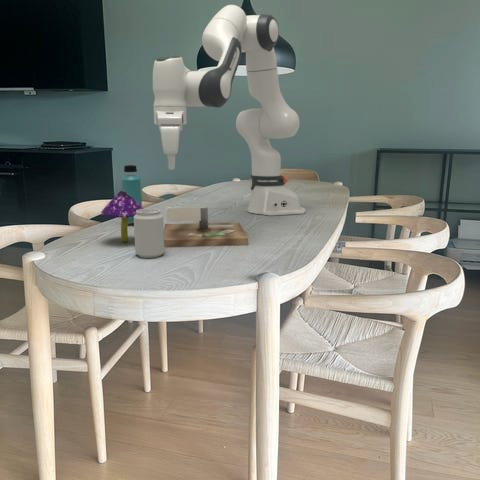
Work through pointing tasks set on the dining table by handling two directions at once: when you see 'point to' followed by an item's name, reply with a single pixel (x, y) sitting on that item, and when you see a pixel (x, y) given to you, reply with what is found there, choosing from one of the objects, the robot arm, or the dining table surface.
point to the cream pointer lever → (192, 216)
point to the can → (149, 233)
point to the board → (203, 235)
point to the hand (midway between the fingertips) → (171, 168)
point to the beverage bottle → (132, 186)
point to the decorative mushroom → (122, 210)
